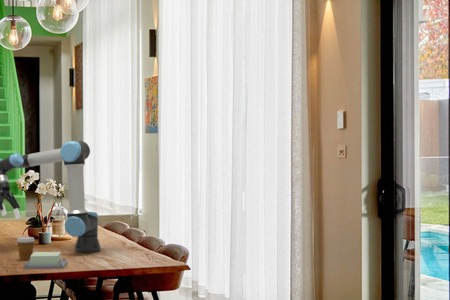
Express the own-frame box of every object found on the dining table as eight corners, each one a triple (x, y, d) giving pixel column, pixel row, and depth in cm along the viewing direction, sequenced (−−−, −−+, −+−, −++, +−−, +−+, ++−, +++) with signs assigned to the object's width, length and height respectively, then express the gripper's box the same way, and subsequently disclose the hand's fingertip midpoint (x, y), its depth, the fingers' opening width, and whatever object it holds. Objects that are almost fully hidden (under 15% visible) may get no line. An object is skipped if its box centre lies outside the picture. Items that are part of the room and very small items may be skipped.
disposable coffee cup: (25, 261, 412) (25, 239, 411) (12, 260, 417) (13, 238, 416) (38, 259, 420) (38, 237, 420) (26, 257, 425) (26, 236, 425)
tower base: (67, 262, 412) (67, 250, 412) (63, 268, 392) (63, 256, 392) (28, 262, 410) (29, 251, 409) (23, 268, 390) (23, 257, 390)
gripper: (9, 191, 458) (18, 223, 451) (-17, 182, 436) (-8, 216, 428) (20, 185, 457) (29, 217, 449) (-6, 176, 434) (3, 210, 426)
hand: (11, 217), depth 439 cm, fingers open, 13 cm apart
